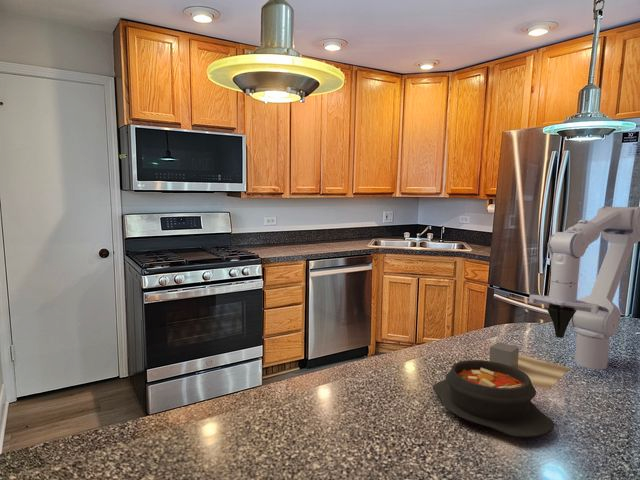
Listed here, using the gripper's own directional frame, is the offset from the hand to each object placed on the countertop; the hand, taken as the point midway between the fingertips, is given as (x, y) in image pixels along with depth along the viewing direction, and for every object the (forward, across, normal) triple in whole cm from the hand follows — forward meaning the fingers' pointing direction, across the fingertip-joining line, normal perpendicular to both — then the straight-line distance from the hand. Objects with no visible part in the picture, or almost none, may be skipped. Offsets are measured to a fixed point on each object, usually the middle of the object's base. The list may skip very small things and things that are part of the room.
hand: (559, 336), depth 102 cm
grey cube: (+10, -11, -6) cm, 16 cm away
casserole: (+11, -5, -30) cm, 32 cm away
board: (+10, -7, -2) cm, 13 cm away
